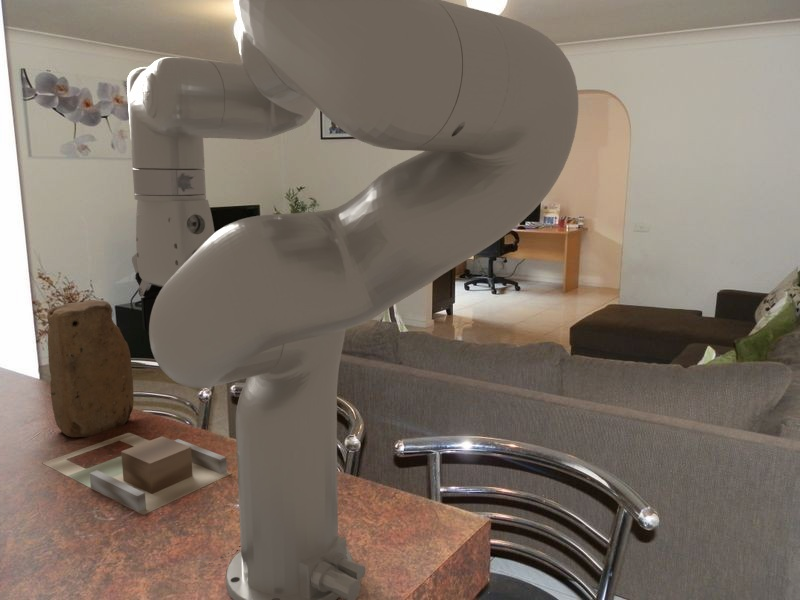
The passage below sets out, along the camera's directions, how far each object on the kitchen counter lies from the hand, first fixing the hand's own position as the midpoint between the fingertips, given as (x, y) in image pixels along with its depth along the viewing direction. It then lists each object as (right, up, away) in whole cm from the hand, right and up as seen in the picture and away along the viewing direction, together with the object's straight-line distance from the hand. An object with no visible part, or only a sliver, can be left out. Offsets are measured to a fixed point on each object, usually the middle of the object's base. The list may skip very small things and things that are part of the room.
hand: (178, 335), depth 77 cm
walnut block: (-5, -19, +8) cm, 21 cm away
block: (-22, -16, +27) cm, 39 cm away
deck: (-9, -19, +11) cm, 24 cm away
